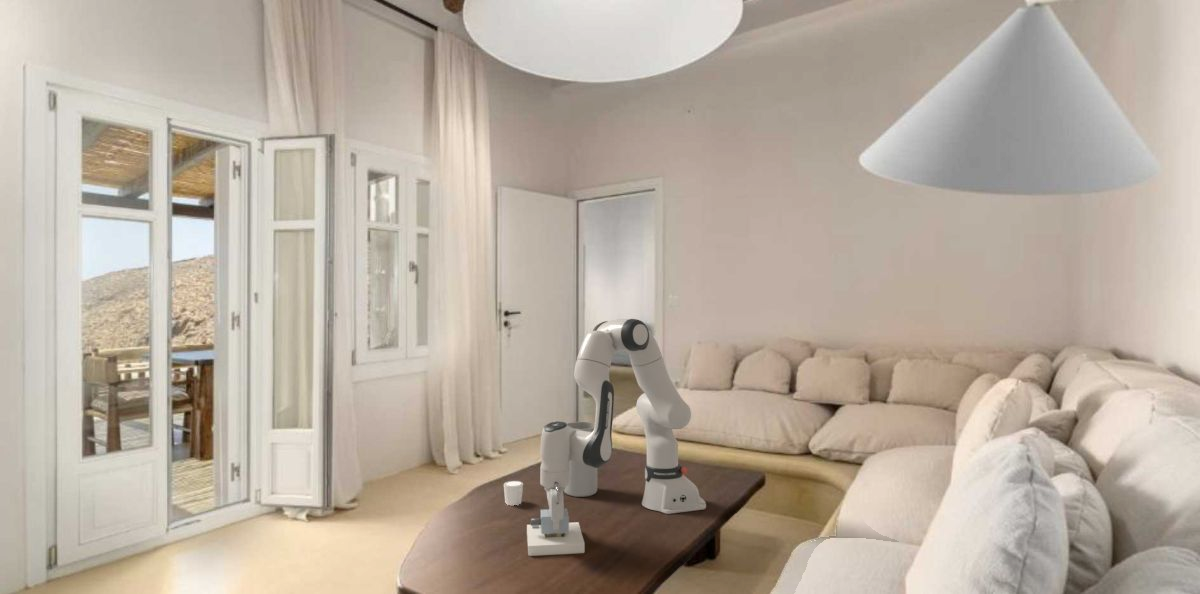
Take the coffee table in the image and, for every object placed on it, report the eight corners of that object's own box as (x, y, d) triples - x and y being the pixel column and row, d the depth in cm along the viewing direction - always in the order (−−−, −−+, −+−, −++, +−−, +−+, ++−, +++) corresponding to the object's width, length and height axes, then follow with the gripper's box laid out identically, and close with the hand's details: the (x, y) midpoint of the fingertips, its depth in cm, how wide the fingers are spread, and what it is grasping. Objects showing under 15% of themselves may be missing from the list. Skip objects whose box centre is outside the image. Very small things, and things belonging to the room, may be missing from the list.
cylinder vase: (598, 487, 232) (599, 422, 232) (595, 498, 220) (595, 429, 220) (566, 486, 234) (567, 421, 233) (561, 496, 221) (561, 428, 221)
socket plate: (578, 531, 189) (578, 519, 189) (584, 552, 174) (584, 540, 173) (526, 533, 187) (526, 522, 187) (528, 555, 171) (528, 543, 171)
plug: (566, 534, 184) (566, 508, 184) (568, 542, 178) (568, 515, 178) (530, 536, 182) (530, 510, 182) (531, 544, 176) (531, 517, 176)
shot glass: (519, 507, 210) (519, 487, 210) (500, 505, 211) (500, 485, 211) (525, 500, 217) (525, 481, 217) (507, 499, 218) (507, 479, 218)
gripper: (569, 488, 170) (568, 537, 170) (562, 467, 191) (562, 511, 191) (546, 489, 169) (546, 538, 170) (542, 468, 190) (542, 512, 190)
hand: (554, 524), depth 180 cm, fingers closed on plug, 6 cm apart
